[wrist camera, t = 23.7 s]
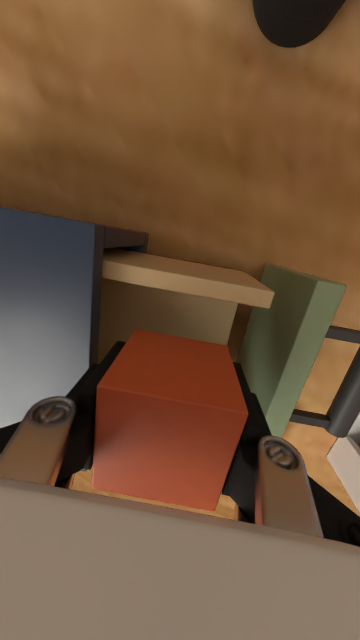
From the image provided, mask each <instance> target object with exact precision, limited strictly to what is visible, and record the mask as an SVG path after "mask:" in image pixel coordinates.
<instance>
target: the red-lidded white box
mask: <svg viewBox="0 0 360 640" xmlns="http://www.w3.org/2000/svg"><path fill="white" fill-rule="evenodd" d="M326 458H327V459H328V461H329V463H330V464H331V466H332V468H333V469H334V471H335V473H336V474H337V476H338V478H339V479H340V481H341V483H342V484H343V486H344V488H345V489H346V491H347V493H348V494H349V496H350V498H351V499H352V501H353V503H354V504H355V506H356V508H357V509H358V511H359V513H360V413H359V415H358V416H357V418H356V420H355V422H354V423H353V425H352V427H351V429H350V431H349V432H348V434H347V436H346V437H345V438H338V439H337V441H336V442H335V444H334V445H333V447H332V449H331V450H330V452H329V453H328V455H327V456H326Z"/></svg>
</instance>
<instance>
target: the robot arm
mask: <svg viewBox="0 0 360 640" xmlns="http://www.w3.org/2000/svg"><path fill="white" fill-rule="evenodd" d="M125 344H126V342H123V341H117V342H116V343H115V345H114V346H113V347H112V348H111V350H110V351H109V352H108V354H107V355H106V356H105V357H104V359H103V360H102V361H101V362H100V364H92V365H91V366H90V368H89V369H88V370H87V371H86V372H85V374H84V375H83V376H82V377H81V378H80V380H79V381H78V382H77V383H76V384H75V386H74V387H73V388H72V389H71V390H70V392H69V393H68V394H67V395H66V396H65V397H63V396H53V397H49V398H45V399H43V400H40V401H38V402H37V403H35V404H34V405H33V406H32V407H31V408H30V409H29V410H28V412H27V413H26V415H25V416H24V418H23V420H22V421H20V422H17V423H14V424H12V425H9V426H6V427H3V428H0V640H360V517H359V516H358V515H356V514H355V513H354V512H353V511H351V510H350V509H349V508H348V507H346V506H345V505H344V504H343V503H341V502H340V501H339V500H338V499H336V498H335V497H334V496H333V495H331V494H330V493H329V492H328V491H326V490H325V489H324V488H323V487H321V486H320V485H319V484H318V483H317V482H315V481H314V480H313V479H312V478H310V477H309V476H308V475H307V471H306V468H305V464H304V461H303V458H302V456H301V454H300V453H299V452H298V450H297V449H296V448H295V447H294V446H293V445H292V444H290V443H289V442H288V441H286V440H284V439H282V438H280V437H277V436H273V435H272V434H271V431H270V429H269V426H268V424H267V421H266V419H265V416H264V413H263V411H262V408H261V406H260V403H259V401H258V398H257V396H256V394H255V393H252V392H251V391H250V388H249V386H248V383H247V380H246V377H245V375H244V372H243V369H242V366H241V364H240V363H236V362H233V365H234V368H235V371H236V374H237V378H238V381H239V384H240V387H241V391H242V394H243V397H244V400H245V404H246V407H247V410H248V417H247V420H246V423H245V426H244V429H243V431H242V434H241V437H240V440H239V443H238V446H237V449H236V452H235V454H234V457H233V460H232V463H231V466H230V469H229V472H228V475H227V477H226V480H225V483H224V486H223V489H222V495H227V496H230V497H231V498H232V499H233V500H234V501H235V502H236V504H235V513H234V520H231V519H226V518H220V517H215V516H210V515H205V514H200V513H194V512H189V511H184V510H179V509H173V508H168V507H163V506H157V505H152V504H147V503H141V502H136V501H131V500H125V499H120V498H114V497H109V496H104V495H98V494H93V493H87V492H82V491H76V490H71V488H72V484H73V481H74V477H75V473H76V472H78V471H80V470H82V469H89V470H90V469H91V467H92V465H93V454H94V434H95V415H96V395H97V385H98V384H99V382H100V381H101V379H102V378H103V376H104V375H105V373H106V372H107V370H108V369H109V367H110V366H111V364H112V363H113V362H114V360H115V359H116V357H117V356H118V354H119V353H120V351H121V350H122V348H123V347H124V345H125Z"/></svg>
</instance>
